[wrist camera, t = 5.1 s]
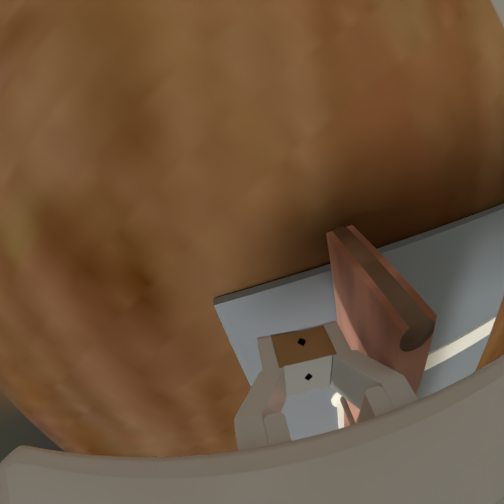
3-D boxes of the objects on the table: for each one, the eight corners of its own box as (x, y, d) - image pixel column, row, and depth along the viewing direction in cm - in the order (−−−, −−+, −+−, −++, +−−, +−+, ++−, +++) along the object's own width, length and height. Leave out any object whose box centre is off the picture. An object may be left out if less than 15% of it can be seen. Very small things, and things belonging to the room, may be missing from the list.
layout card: (213, 298, 14) (214, 307, 13) (517, 197, 14) (524, 201, 13) (289, 460, 25) (291, 466, 24) (462, 388, 25) (465, 392, 24)
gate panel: (359, 386, 18) (392, 459, 13) (342, 392, 18) (373, 467, 13) (352, 222, 12) (437, 312, 7) (325, 230, 12) (401, 329, 7)
